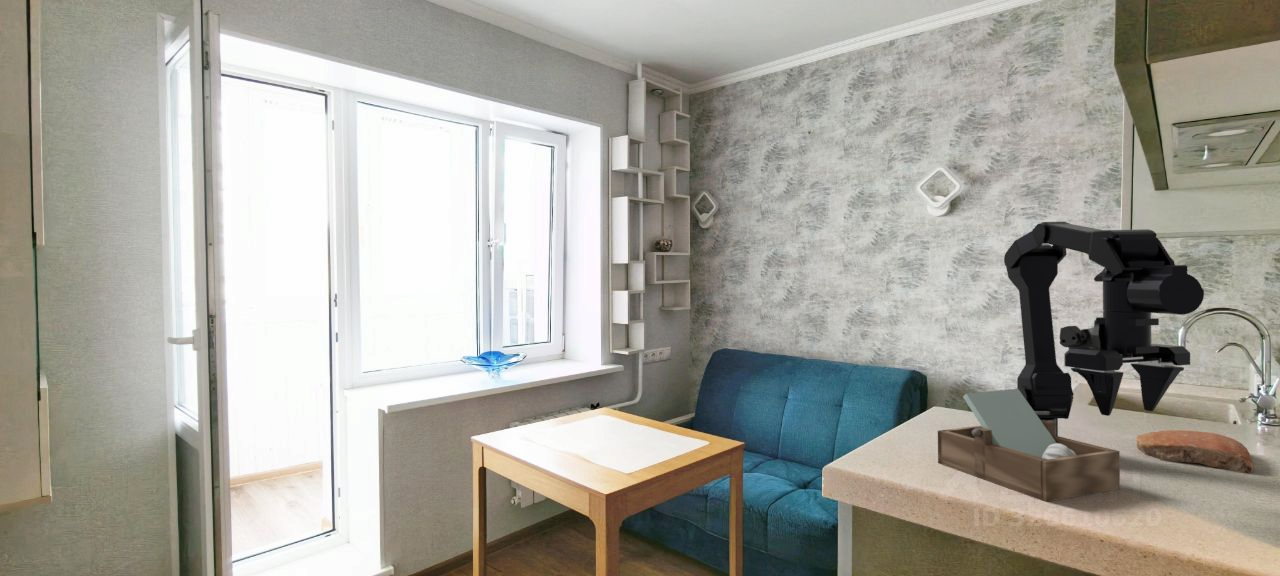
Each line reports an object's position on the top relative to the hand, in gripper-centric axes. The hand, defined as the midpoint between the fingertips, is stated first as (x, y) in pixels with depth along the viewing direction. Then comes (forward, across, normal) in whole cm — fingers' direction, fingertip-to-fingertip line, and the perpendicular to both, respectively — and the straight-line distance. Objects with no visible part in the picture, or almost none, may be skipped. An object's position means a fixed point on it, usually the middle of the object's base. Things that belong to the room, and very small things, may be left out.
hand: (1127, 412), depth 91 cm
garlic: (+8, +8, -7) cm, 13 cm away
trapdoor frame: (+12, +8, -11) cm, 18 cm away
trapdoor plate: (+5, +8, -13) cm, 16 cm away
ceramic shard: (+13, -29, -9) cm, 33 cm away
